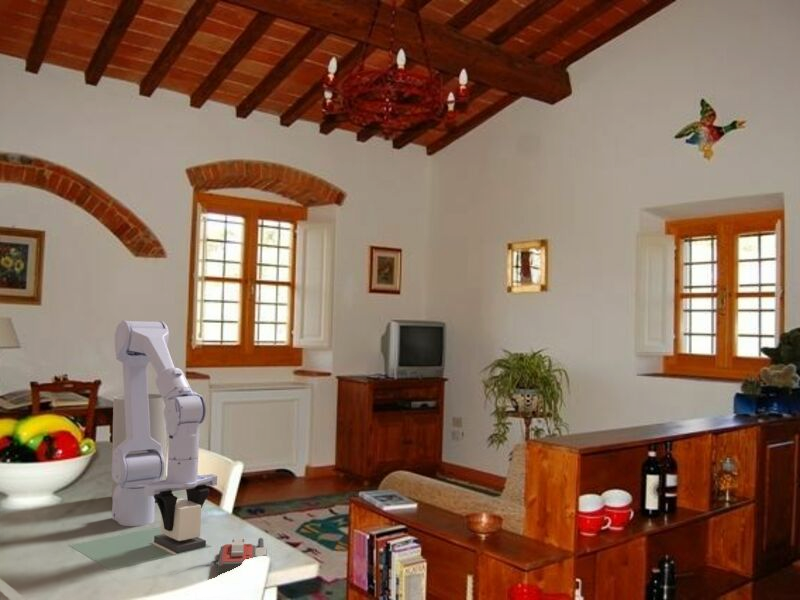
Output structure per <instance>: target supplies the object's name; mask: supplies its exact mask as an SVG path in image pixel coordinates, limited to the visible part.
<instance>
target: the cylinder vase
mask: <svg viewBox="0 0 800 600" xmlns="http://www.w3.org/2000/svg"><path fill="white" fill-rule="evenodd" d="M148 401H149V420H150V437H151V438H152V439H154V440H155V441H157V442H158V443H159V444H161V446H162V452H163V456H164V459H165V472H164V475H163V476H162V478H161V479H160V480H159V481H161V480H165V479H167V441H168V439H167V438H168V437H167V435H168V434H167V431H166V421H165V417H164V409H165V403H164V401H163V398H162V396H161V394H160V393H148ZM112 402H113V403H112V405H113V406H112V408H113V409H112V412H113V413H112V414H113V415H112V446H111V447H112V449H111V450H112V455H111V457H112V458H111V459H112V461H111V463H112V462H113V452H114V450H115V449H116V447H117V446H119V445H120V444H121V443H122V442H123V441H124V440H125V439H126V422H125V401H124V394H121V395H115V396H113V401H112ZM146 452H147V451H134V452H129V453H128V454H137V453H146ZM128 454H127V455H128ZM117 485H118V484H117V483H116V482H115V481H114V480H113V477H112V476H111V499H112V501H113V492H114V490H115V488H116V487H117ZM155 502H156V500H155Z"/></svg>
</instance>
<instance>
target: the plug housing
mask: <svg viewBox="0 0 800 600" xmlns="http://www.w3.org/2000/svg"><path fill="white" fill-rule="evenodd" d="M160 516H161V518H160V520H161V522H160V527H161V533H162V534H165V535H167V536H169V537H171V538H173V539H175V540H178V541H182V540H186V539H191V538H195V537H199V538H200V537H201V526H202V525H201V522H202V508H201V505H199V504H196V503H194V502H191V501H189V500H187V499H186V498H177V502H176V505H175V511H174V525H173V530H172V531H168V530H165V529H164V523H163V519H162V515H160Z"/></svg>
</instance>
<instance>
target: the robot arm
mask: <svg viewBox="0 0 800 600" xmlns="http://www.w3.org/2000/svg"><path fill="white" fill-rule="evenodd" d="M169 331H170V330H169V327H168V326H167V324H166V323H165V321H161V320H160V321H159V320H158V321H139V320H138V321H137V320H135V321H133V320H132V321H130V320H125V319H124V320H121V321H120V322H119V323H118V324H117V326H116V330H115V331H114V332H115V333H114V350H115V359H116V360H117V361H119V362H121V363H122V375H123V395H124V401H125V422H126V439H125V440H124V441H123V442H122V443H121V444H120V445H119V446H117V447H116V449H115V450H114V452H113V462H112V461H111V478H112V477H113V480H114V481H115V482H116V483H117V484H118V485H117V487H116V488H115V490H114V492H113V500H112V509H111V511H112V512H111V519H112V520H114V521H116V522H117V523H118V524H119V525H121V526H125V527H141V526H147V525H150V524H152V523H153V522H154V521H155V507H156V503H157V506H158V509H159V511H160V514H161V515H162V519H163V523H164V529H165V530H168V531H172V530H173V525H174V511H175V505H176V502H177V499H178V497H177V495H176V496H175V495H174V493H173V492H179V491H185V492H186V493H185V494H186V498H187V499H186V500H189V501H191V502H194V503H196V504H199V505H201V509H202V508H203V506H204V503H205V502H206V500H207V498H208V497H209V495H210V488H208V487H209V486H211V487H213V486H214V487H215V486H218V475H216V474H202V475H201V474H200V475H198V474H199V472H198V471H199V454H200V453H199V452H200V451H199V450H200V449H199V445H200V444H199V443H200V427H201V426H200V424H202V423H204V421H205V418H206V415H207V406H206V402H205V399H204V396H203V395H202V394H199V393H197V391H193V389H192V388H191V386H190V384H189V382H188V379H187V378H186V376H185V375H186V374H185V373H184V372H183V370H182V369H181V368H178V367H175V365H174V362H173V359H172V356H171V353H170V351H169V347H168V344H169V338H170V337H169V336H170V332H169ZM149 363H150V364H151V366H152V368H153V369H154V371H155V373H156V374H157V376H156V378H155V385H156V388H157V390H158V392H159V394H161V396H162V398H163V401H164V403H165V409H164V417H165V421H166V431H167V435H168V450H167V467H166V479H165V480H161V481H159V480H160V479H161V478H162V476H163V475H164V472H165V459H164V456H163V452H162V446H161V444H159V443H158V442H157V441H155V440H154V439H152V438H151V437H150V420H149V401H148V394H149V386H148V385H149V384H148V365H149ZM134 451H147V452H146V453H137V454H128V453H129V452H134ZM127 454H128V455H127ZM155 500H156V501H155ZM161 515H160V516H161Z"/></svg>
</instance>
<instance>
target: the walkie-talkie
mask: <svg viewBox="0 0 800 600" xmlns="http://www.w3.org/2000/svg"><path fill="white" fill-rule="evenodd" d="M257 541H258V542H257V543H258V544H257V545H258V547H256V545H254V544H253V543H245V539H244V538H243V539H242V538H236V539H232V542H231V543H230V544H229V543H228V544H224V545H222V546H220V548H219V553H218V564H217V576H218V575H220V574H222V573H225V572H227V571H230V570H232V569H234V568H236V567H238V566H240V565H241V564H242V562H243V561H244V560H245V559H249V558H253V557H257V556H267V557H268V548H267V547H264V538H263V537H259V538H258V539H257Z"/></svg>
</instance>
